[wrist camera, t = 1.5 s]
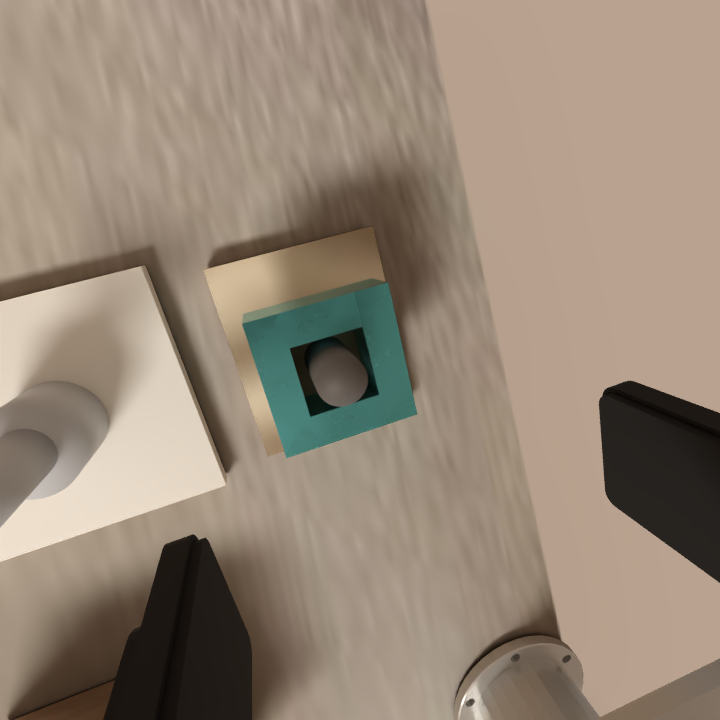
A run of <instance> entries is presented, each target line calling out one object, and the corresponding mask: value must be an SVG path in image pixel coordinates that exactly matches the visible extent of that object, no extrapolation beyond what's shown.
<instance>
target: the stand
mask: <svg viewBox="0 0 720 720" xmlns="http://www.w3.org/2000/svg"><path fill="white" fill-rule="evenodd" d="M203 271H204V274H205V276H206V279H207V282H208V285H209V288H210V291H211V294H212V297H213V300H214V302H215V305H216V308H217V311H218V314H219V317H220V320H221V323H222V325H223V328H224V331H225V334H226V337H227V340H228V343H229V346H230V348H231V351H232V354H233V357H234V360H235V363H236V366H237V369H238V372H239V374H240V377H241V380H242V383H243V386H244V389H245V392H246V395H247V397H248V400H249V403H250V406H251V409H252V412H253V415H254V418H255V420H256V423H257V426H258V429H259V432H260V435H261V438H262V441H263V443H264V446H265V449H266V452H267V455H268V456H270V455H273V454H276V453H279V452H282V451H284V449H283V446H282V443H281V440H280V437H279V434H278V431H277V428H276V425H275V422H274V419H273V416H272V413H271V410H270V407H269V404H268V401H267V398H266V395H265V392H264V389H263V386H262V383H261V380H260V377H259V374H258V371H257V368H256V365H255V362H254V359H253V356H252V353H251V350H250V347H249V344H248V341H247V338H246V335H245V332H244V329H243V326H242V319H243V314H245V313H248V312H252V311H255V310H259V309H262V308H266V307H270V306H273V305H277V304H280V303H284V302H288V301H291V300H295V299H298V298H302V297H306V296H309V295H313V294H316V293H320V292H324V291H327V290H331V289H334V288H338V287H342V286H345V285H349V284H352V283H356V282H359V281H363V280H367V279H370V278H373V279H377V280H381V281H384V282H385V277H384V273H383V268H382V264H381V259H380V255H379V250H378V246H377V242H376V237H375V233H374V228H373V226H371V227H366V228H362V229H358V230H354V231H351V232H347V233H343V234H339V235H335V236H331V237H327V238H323V239H320V240H316V241H312V242H308V243H304V244H300V245H296V246H293V247H289V248H285V249H281V250H277V251H273V252H269V253H266V254H262V255H258V256H254V257H250V258H246V259H242V260H238V261H235V262H231V263H227V264H223V265H219V266H215V267H211V268H208V269H204V270H203ZM290 352H291V355H292V358H293V361H294V365H295V368H296V371H297V375H298V378H299V381H300V385H301V388H302V391H303V394H304V397H305V396H308V395H311V394H315V393H318V394H319V396H320V397H321V398H322V399H323V400H324V401H325V402H326V403H328V404H330V405H333V406H338V407H343V406H348V405H351V404H353V403H355V402H356V401H358V400H359V399H360V398H361V397H362V395H363V394H364V392H365V390H366V388H367V384H368V375H367V372H366V369H365V367H364V366H363V364H362V363H361V360H360V357H359V353H358V349H357V345H356V341H355V337H354V333H353V330H350V331H347V332H343V333H340V334H336V335H333V336H330V337H326V338H323V339H320V340H316V341H313V342H309V343H306V344H303V345H299V346H296V347H293V348H290Z"/></svg>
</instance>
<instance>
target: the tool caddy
mask: <svg viewBox="0 0 720 720" xmlns="http://www.w3.org/2000/svg"><path fill="white" fill-rule="evenodd" d="M114 682H115V680H113V681H111V682H108V683H106V684H103V685H101V686H98V687H96V688H93V689H91V690H88V691H85V692H83V693H80V694H78V695H75V696H73V697H70V698H68V699H65V700H62V701H60V702H57V703H55V704H52V705H50V706H47V707H45V708H42V709H39V710H37V711H34V712H32V713H29V714H27V715H24V716H22V717H19V718H17V719H14V720H103V718H104V715H105V712H106V708H107V705H108V702H109V698H110V695H111V692H112V689H113V685H114Z"/></svg>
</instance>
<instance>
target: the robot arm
mask: <svg viewBox="0 0 720 720" xmlns="http://www.w3.org/2000/svg"><path fill="white" fill-rule="evenodd" d="M599 410H600V424H601V439H602V452H603V466H604V481H605V492H606V495H607V497H608V499H609V500H610V502H611V503H612V504H613V505H614V506H615V507H617V508H618V509H619V510H621V511H622V512H623V513H625V514H626V515H628V516H629V517H631V518H632V519H633V520H634V521H636V522H637V523H639V524H640V525H641V526H643V527H644V528H645V529H647V530H648V531H650V532H651V533H652V534H654V535H655V536H656V537H658V538H659V539H661V540H662V541H663V542H665V543H666V544H667V545H669V546H670V547H672V548H673V549H674V550H676V551H677V552H678V553H680V554H681V555H682V556H684V557H685V558H687V559H688V560H690V561H691V562H692V563H693V564H695V565H696V566H697V567H699V568H700V569H702V570H703V571H704V572H706V573H707V574H708V575H710V576H711V577H713V578H714V579H715V580H717V581H718V582H720V413H718V412H715V411H713V410H710V409H707V408H704V407H702V406H699V405H696V404H694V403H691V402H688V401H685V400H683V399H680V398H677V397H675V396H672V395H669V394H667V393H664V392H661V391H658V390H656V389H653V388H650V387H647V386H645V385H642V384H639V383H637V382H633V381H627V382H623V383H620V384H618V385H615V386H612V387H609V388H607V389H606V390H605V391H604V392H603V396H602V397H601V398H600V401H599ZM582 686H583V670H582V666H581V663H580V661H579V660H578V658H577V656H576V655H575V654H574V653H573V651H572V650H571V649H570V648H569V646H568V645H566V644H565V643H564V642H562V641H561V640H559V639H556V638H553V637H550V636H543V635H537V636H526V637H522V638H518V639H515V640H512V641H510V642H507V643H505V644H503V645H501V646H500V647H498V648H496V649H494V650H493V651H491V652H490V653H489V654H487V655H486V656H485V657H483V658H482V659H481V660H480V661H479V662H478V663H477V664H476V665H475V666H474V667H473V668H472V670H471V671H470V672H469V674H468V675H467V676H466V678H465V679H464V681H463V683H462V685H461V687H460V689H459V691H458V694H457V697H456V700H455V706H454V717H455V720H720V659H718V660H716V661H714V662H712V663H710V664H708V665H706V666H704V667H702V668H700V669H698V670H695V671H693V672H691V673H689V674H687V675H685V676H683V677H681V678H679V679H677V680H675V681H673V682H671V683H669V684H667V685H665V686H663V687H661V688H659V689H657V690H655V691H653V692H651V693H648V694H646V695H644V696H642V697H640V698H638V699H636V700H634V701H632V702H630V703H628V704H626V705H624V706H622V707H620V708H618V709H616V710H614V711H612V712H610V713H608V714H606V715H604V716H602V717H599V715H598V714H597V713H596V711H595V710H594V709H593V707H592V706H591V705H590V703H589V702H588V700H587V699H586V698H585V696H584V695H583V694H582V692H581V691H582ZM103 720H252V650H251V643H250V638H249V635H248V632H247V629H246V627H245V625H244V623H243V620H242V618H241V616H240V613H239V611H238V609H237V606H236V604H235V602H234V599H233V597H232V595H231V592H230V590H229V588H228V585H227V583H226V581H225V578H224V576H223V574H222V571H221V569H220V567H219V564H218V562H217V560H216V557H215V555H214V553H213V550H212V548H211V546H210V543H209V541H208V540H207V539H206V538H203V539H200V540H198V538H197V537H196V536H195V535H190V536H187V537H184V538H181V539H179V540H176V541H173V542H170V543H167V544H165V545H164V547H163V550H162V553H161V557H160V560H159V564H158V568H157V571H156V575H155V578H154V582H153V585H152V589H151V593H150V596H149V600H148V603H147V607H146V610H145V614H144V618H143V621H142V625H141V627H139V628H136V629H134V630H133V631H132V632H131V633H130V635H129V638H128V640H127V643H126V646H125V649H124V653H123V656H122V659H121V662H120V666H119V669H118V672H117V675H116V679H115V682H114V685H113V689H112V692H111V695H110V698H109V702H108V705H107V708H106V712H105V715H104V718H103Z"/></svg>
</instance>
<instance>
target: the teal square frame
mask: <svg viewBox="0 0 720 720" xmlns="http://www.w3.org/2000/svg"><path fill="white" fill-rule="evenodd" d="M242 326H243V329H244V332H245V335H246V338H247V341H248V344H249V347H250V350H251V353H252V356H253V359H254V362H255V365H256V368H257V371H258V374H259V377H260V380H261V383H262V386H263V389H264V392H265V395H266V398H267V401H268V404H269V407H270V410H271V413H272V416H273V419H274V422H275V425H276V428H277V431H278V434H279V437H280V440H281V443H282V446H283V449H284V452H285V455H286V458H288V457H291V456H294V455H297V454H300V453H303V452H306V451H309V450H312V449H315V448H318V447H321V446H324V445H327V444H330V443H333V442H336V441H339V440H342V439H345V438H348V437H351V436H354V435H357V434H360V433H363V432H366V431H369V430H372V429H375V428H378V427H381V426H384V425H387V424H390V423H393V422H396V421H399V420H401V419H404V418H407V417H410V416H413V415H416V414H417V411H416V406H415V402H414V397H413V393H412V388H411V384H410V379H409V375H408V370H407V366H406V361H405V357H404V352H403V348H402V343H401V339H400V334H399V329H398V325H397V320H396V316H395V311H394V307H393V302H392V298H391V293H390V289H389V284H388V282H384V281H381V280H377V279H373V278H370V279H367V280H363V281H359V282H356V283H352V284H349V285H345V286H342V287H338V288H334V289H331V290H327V291H324V292H320V293H316V294H313V295H309V296H306V297H302V298H298V299H295V300H291V301H288V302H284V303H280V304H277V305H273V306H270V307H266V308H262V309H259V310H255V311H252V312H248V313H245V314H243V319H242ZM350 330H353V333H354V337H355V341H356V345H357V349H358V353H359V357H360V360H361V363H362V364H363V366H364V367H365V369H366V372H367V375H368V384H367V388H366V390H365V392H364V394H363V395H362V397H361V398H360V399H359V400H358V401H356V402H355V403H353V404H351V405H348V406H343V407H338V406H333V405H330V404H328V403H326V402H325V401H324V400H323V399H322V398H321V397H320V396H319V394H318V393H315V394H311V395H308V396H305V397H304V394H303V391H302V388H301V385H300V381H299V378H298V375H297V371H296V368H295V365H294V361H293V358H292V355H291V352H290V348H293V347H296V346H299V345H303V344H306V343H309V342H313V341H316V340H320V339H323V338H326V337H330V336H333V335H336V334H340V333H343V332H347V331H350Z"/></svg>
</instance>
